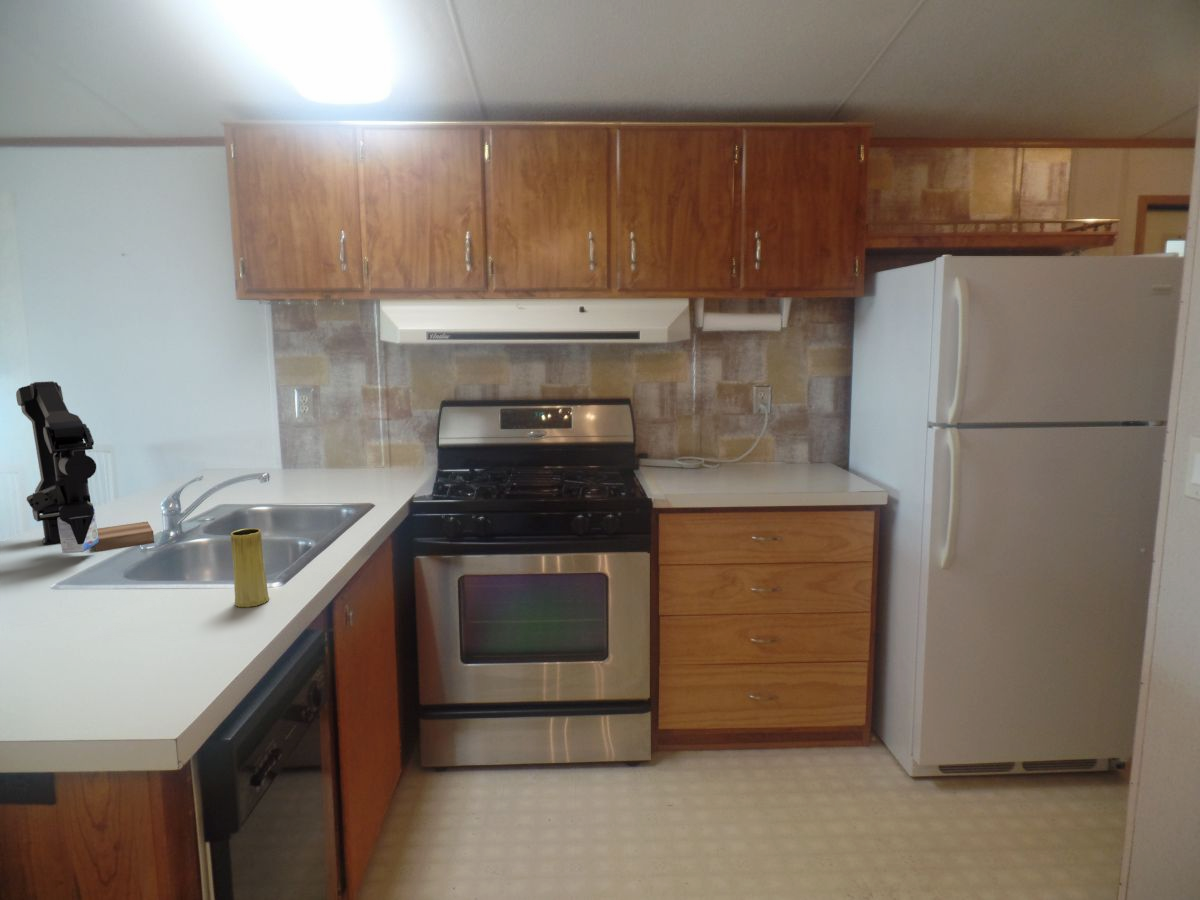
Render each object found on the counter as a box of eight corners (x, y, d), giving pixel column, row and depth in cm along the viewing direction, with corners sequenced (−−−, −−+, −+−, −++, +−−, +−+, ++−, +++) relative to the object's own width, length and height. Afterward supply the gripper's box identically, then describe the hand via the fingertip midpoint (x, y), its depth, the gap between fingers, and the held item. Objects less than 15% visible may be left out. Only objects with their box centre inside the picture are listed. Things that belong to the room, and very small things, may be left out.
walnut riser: (93, 540, 181) (92, 529, 180) (148, 532, 188) (147, 521, 187) (96, 551, 171) (95, 539, 171) (154, 542, 178) (153, 531, 178)
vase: (275, 596, 141) (269, 527, 138) (257, 608, 135) (251, 536, 132) (246, 595, 141) (240, 527, 139) (227, 607, 135) (220, 535, 133)
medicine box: (83, 552, 162) (78, 516, 160) (61, 553, 161) (56, 517, 159) (99, 542, 169) (95, 507, 168) (78, 543, 168) (73, 508, 167)
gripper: (27, 472, 164) (36, 536, 167) (25, 485, 150) (35, 556, 153) (85, 466, 171) (93, 528, 174) (89, 479, 157) (98, 546, 159)
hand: (79, 539), depth 165 cm, fingers closed on medicine box, 9 cm apart
